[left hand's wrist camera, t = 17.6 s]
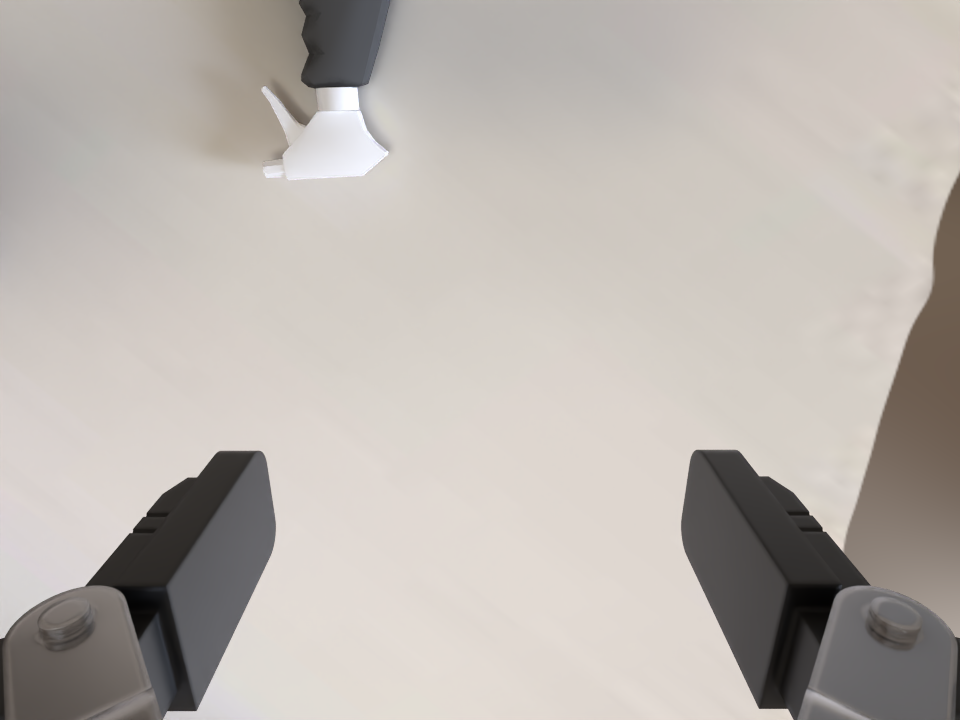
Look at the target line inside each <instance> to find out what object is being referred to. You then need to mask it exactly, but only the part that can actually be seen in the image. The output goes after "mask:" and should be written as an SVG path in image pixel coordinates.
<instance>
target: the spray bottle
mask: <svg viewBox="0 0 960 720" xmlns="http://www.w3.org/2000/svg"><path fill="white" fill-rule="evenodd" d="M389 3H390V0H300V1H299V4H300V6H301V8H302V10H303V11H304V13H305V15H306V19H305V23H304V27H303V31H302V37H303V40H304V42H305V45H306V47H307V49H308V52H309V56H308V58H307V61H306V63H305V66H304V69H303V71H302V74H301V81H302V82H303V83H305V84H306V85H307V86H308V87H311V88H315V89H316V96H317V104H318V111H322V112H316V114H315V115H314V117H313V118H312V119H311V121H310V122H309V123H308V125H307V126H306V125H303V124H301V123H299V122H297V120H296V119H295V118H294V117H293V116H292V114H291V113H290V112H289V111H288V109H287V108H286V107H285V106H284V105H283V103H282V102H281V101H280V100H279V99H278V98H277V97H276V96H275V95H274V94H273V93H272V91H271V90H270V89H269V88H268V87H267V86H264V87H263V88H262V89H261V90H262V92H263V93H264V95H265V96H266V98H267V99H268V100H269V102H270V104H271V106H272V108H273V109H274V111H275V113H276V115H277V117H278V119H279V121H280V123H281V125H282V127H283V129H284V132H285V135H286V139H287V142H288V145H289V146H290V147H289V148H288V149H287V150H286V151H285V152H284V154H283V159H277V160H271V161H264V162H263V171H264V174H265V176H266V178H276V177H287V180H298V179H315V178H332V177H349V176H362V175H365V174H366V173H367V172H368V171H369V170H370V169H372V168H373V167H374V166H375V165H376V164H377V163H378V162H380V161H381V160H382V159H383V158H384V157H385V156H386V155H388V151H387V150H386V149H385V148H383V147H382V146H381V145H380V144H378V143H377V142H376V141H375V140H374V139H373V137H372V136H371V135H370V133H369V132H368V130H367V128H366V125H365V122H364V119H363V116H362V113H361V111H346V110H359V102H358V90H357V87H360V86H363V85H366V84H368V83H369V79H370V76H371V72H372V69H373V66H374V62H375V59H376V55H377V52H378V48H379V45H380V41H381V37H382V33H383V28H384V24H385V20H386V16H387V12H388V8H389Z"/></svg>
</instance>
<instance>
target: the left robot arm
mask: <svg viewBox="0 0 960 720" xmlns="http://www.w3.org/2000/svg"><path fill="white" fill-rule="evenodd" d="M681 532H682V541H683V546H684V549H685V552H686V555H687V557H688V559H689V561H690V563H691V565H692V568H693V570H694V572H695V574H696V576H697V578H698V580H699V582H700V585H701V587H702V589H703V591H704V593H705V595H706V597H707V599H708V601H709V604H710V606H711V608H712V610H713V612H714V614H715V616H716V618H717V621H718V623H719V625H720V627H721V629H722V631H723V633H724V635H725V638H726V640H727V642H728V644H729V646H730V648H731V650H732V652H733V654H734V657H735V659H736V661H737V663H738V665H739V667H740V669H741V671H742V674H743V676H744V678H745V680H746V682H747V684H748V686H749V688H750V691H751V693H752V695H753V697H754V699H755V701H756V703H757V705H758V708H759V709H788V710H789V712H790V714H791V715H792V717H793V719H794V720H960V638H957V637H955V636H954V634H953V633H952V631H951V629H950V628H949V627H948V626H947V624H946V623H945V622H944V621H943V620H942V619H941V618H940V617H939V616H937V615H936V614H935V613H934V612H932V611H931V610H930V609H928V608H927V607H925V606H924V605H922V604H921V603H919V602H917V601H915V600H913V599H911V598H909V597H907V596H905V595H902V594H900V593H897V592H894V591H891V590H888V589H884V588H880V587H874V586H871V585H870V584H869V583H868V582H867V580H866V579H865V578H864V577H863V576H862V574H861V573H860V572H859V571H858V570H857V568H856V567H855V566H854V565H853V564H852V563H851V561H850V560H849V559H848V558H847V556H846V555H845V554H844V553H843V552H842V550H841V549H840V548H839V547H838V546H837V544H836V543H835V542H834V541H833V540H832V538H831V537H830V536H829V535H828V534H827V532H823V530H822V527H821V525H820V524H819V523H818V522H817V521H816V519H815V518H814V517H813V516H810V515H809V511H808V510H807V509H806V507H805V506H804V505H803V504H802V503H801V501H800V500H799V499H798V498H797V497H796V495H795V494H794V493H793V492H791V491H790V490H788V489H787V488H785V487H784V486H782V485H781V484H779V483H778V482H776V481H775V480H773V479H771V478H770V477H759V476H758V475H757V473H756V472H755V471H754V469H753V468H752V467H751V466H750V464H749V463H748V462H747V460H746V459H745V458H744V456H743V455H742V454H741V453H740V452H739V451H738V450H695V451H694V452H693V454H692V456H691V460H690V466H689V472H688V479H687V486H686V493H685V499H684V506H683V513H682V521H681ZM275 533H276V522H275V515H274V508H273V501H272V495H271V488H270V481H269V475H268V468H267V462H266V458H265V456H264V454H263V452H261V451H219V452H217V453H216V454H215V456H214V457H213V458H212V459H211V461H210V462H209V463H208V464H207V466H206V467H205V468H204V470H203V471H202V472H201V473H200V475H199V476H198V477H197V478H187V479H185V480H184V481H182V482H180V483H179V484H177V485H176V486H174V487H173V488H171V489H170V490H168V491H167V492H165V493H164V494H162V495H161V497H160V498H159V499H158V500H157V501H156V503H155V504H154V505H153V506H152V507H151V509H150V510H149V511H148V512H147V516H146V517H143V518H142V519H141V520H140V522H139V523H138V524H137V525H136V526H135V528H134V529H133V533H130V534H129V535H128V536H127V537H126V538H125V539H124V541H123V542H122V543H121V544H120V545H119V547H118V548H117V549H116V550H115V551H114V553H113V554H112V555H111V556H110V557H109V558H108V560H107V561H106V562H105V563H104V564H103V566H102V567H101V568H100V569H99V570H98V572H97V573H96V574H95V575H94V576H93V577H92V579H91V580H90V581H89V582H88V583H87V585H86V586H85V587H80V588H76V589H72V590H69V591H66V592H62V593H60V594H58V595H55V596H53V597H51V598H49V599H47V600H45V601H43V602H41V603H39V604H38V605H36V606H35V607H33V608H32V609H30V610H29V611H28V612H26V613H25V614H24V615H23V616H21V617H20V618H19V619H18V620H17V621H16V622H15V623H14V624H13V626H12V627H11V628H10V629H9V631H8V633H7V634H6V636H5V638H2V639H0V720H163V718H164V716H165V714H166V712H167V711H197V709H198V707H199V705H200V702H201V700H202V698H203V696H204V694H205V692H206V690H207V688H208V686H209V684H210V681H211V679H212V677H213V675H214V673H215V671H216V669H217V667H218V665H219V663H220V661H221V658H222V656H223V654H224V652H225V650H226V648H227V646H228V644H229V642H230V640H231V638H232V635H233V633H234V631H235V629H236V627H237V625H238V623H239V621H240V619H241V617H242V614H243V612H244V610H245V608H246V606H247V604H248V602H249V600H250V598H251V596H252V594H253V591H254V589H255V587H256V585H257V583H258V581H259V579H260V577H261V575H262V573H263V570H264V568H265V566H266V564H267V562H268V560H269V558H270V556H271V553H272V550H273V546H274V541H275Z"/></svg>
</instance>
